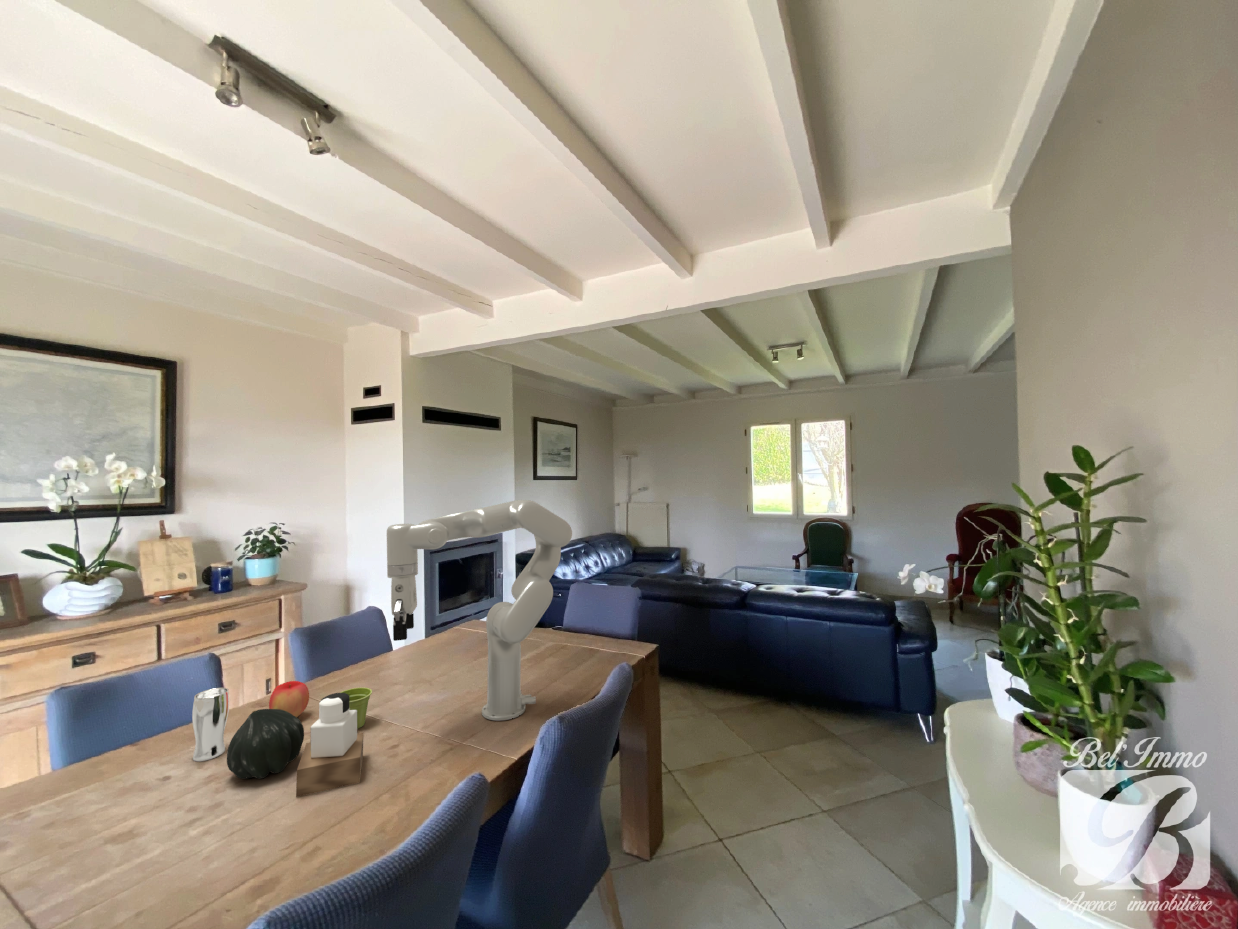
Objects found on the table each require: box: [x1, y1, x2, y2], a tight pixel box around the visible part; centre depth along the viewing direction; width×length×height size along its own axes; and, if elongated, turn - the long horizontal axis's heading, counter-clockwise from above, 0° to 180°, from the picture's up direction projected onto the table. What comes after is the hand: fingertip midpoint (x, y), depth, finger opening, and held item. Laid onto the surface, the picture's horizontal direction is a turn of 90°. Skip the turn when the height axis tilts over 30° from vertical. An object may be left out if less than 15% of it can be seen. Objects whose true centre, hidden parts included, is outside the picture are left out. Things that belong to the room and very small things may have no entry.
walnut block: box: [295, 731, 365, 798], centre depth 110 cm, size 12×12×6 cm
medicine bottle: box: [309, 692, 358, 758], centre depth 111 cm, size 7×7×12 cm
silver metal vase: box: [191, 687, 230, 762], centre depth 119 cm, size 7×7×15 cm
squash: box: [226, 708, 305, 780], centre depth 113 cm, size 14×15×15 cm
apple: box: [268, 680, 310, 718], centre depth 137 cm, size 10×10×10 cm
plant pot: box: [339, 687, 373, 730], centre depth 133 cm, size 9×9×9 cm
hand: (404, 634), depth 128 cm, fingers open, 9 cm apart
